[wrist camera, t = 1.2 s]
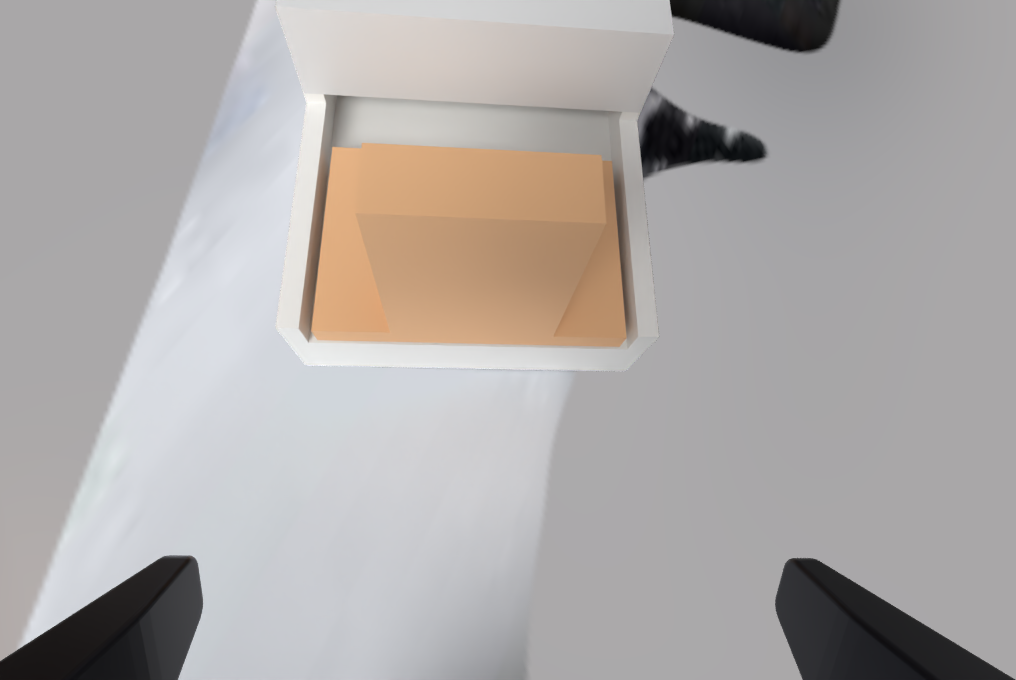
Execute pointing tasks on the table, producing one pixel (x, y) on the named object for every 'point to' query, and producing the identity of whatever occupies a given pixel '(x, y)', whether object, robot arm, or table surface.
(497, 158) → the tan boxy piece
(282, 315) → the camera case
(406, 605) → the table surface
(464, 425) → the table surface
